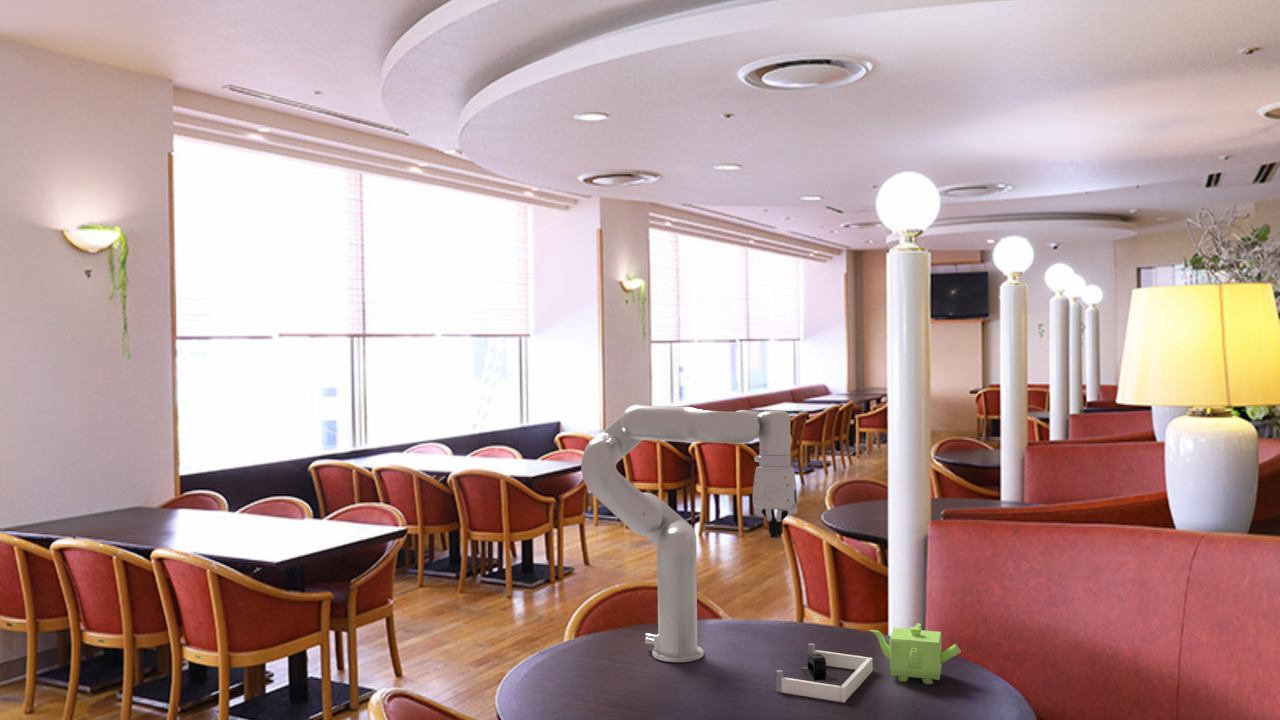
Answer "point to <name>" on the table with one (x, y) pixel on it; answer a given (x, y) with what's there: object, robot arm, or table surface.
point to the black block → (816, 667)
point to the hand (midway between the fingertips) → (775, 536)
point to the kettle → (915, 653)
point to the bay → (826, 690)
